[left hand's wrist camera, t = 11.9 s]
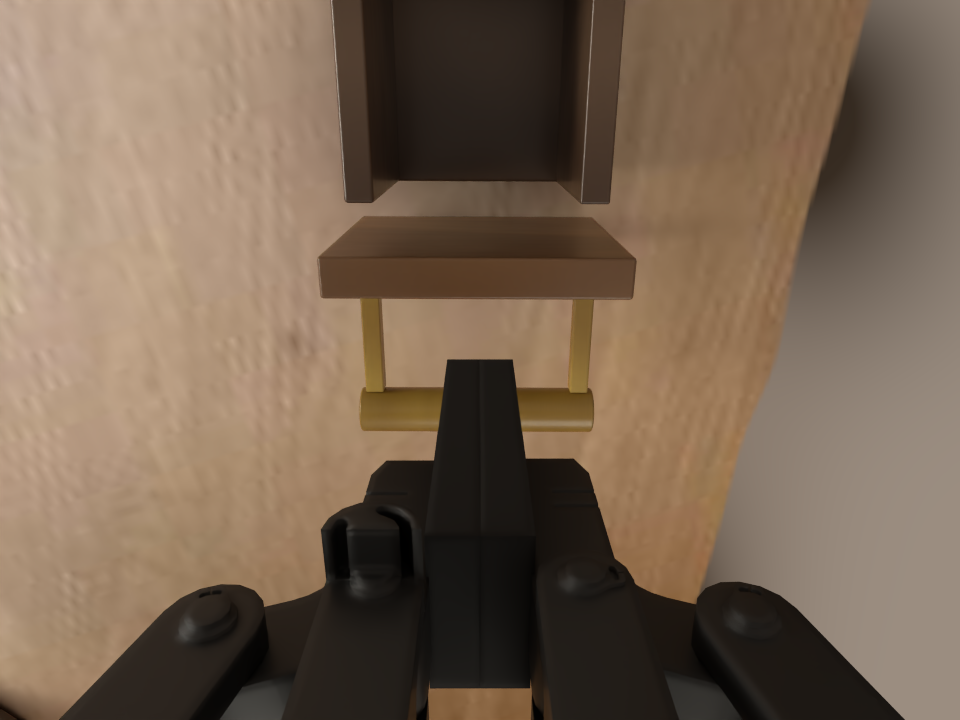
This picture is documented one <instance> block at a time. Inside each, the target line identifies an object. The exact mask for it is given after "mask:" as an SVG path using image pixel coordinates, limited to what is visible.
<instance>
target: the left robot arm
mask: <svg viewBox="0 0 960 720" xmlns="http://www.w3.org/2000/svg"><path fill="white" fill-rule="evenodd" d="M321 535H322V544H323V553H324V563H325V572H326V583H325V586H324V587H323V588H322V589H320V590H318V591H316V592H314V593H312V594H310V595H308V596H305V597H302V598H299V599H296V600H292V601H288V602H284V603H279V604H275V605H271V606H267V607H264V604H263V600H262V599H261V598H260V597H259V595H258V594H257V593H256V592H255V591H254V590H252V589H249V588H246V587H244V586H241V585H223V584H221V585H216V586H212V587H207V588H203V589H199V590H197V591H195V592H193V593H191V594H189V595H186V596H184V597H182V598H180V599H179V600H178V601H176V602H175V603H174V604H173V605H171V606H170V607H169V608H168V609H166V610H165V611H164V612H163V613H162V614H161V615H160V616H159V617H158V618H157V619H156V620H155V621H154V622H153V623H152V624H151V625H150V626H149V627H148V628H147V629H146V630H145V631H144V633H143V634H142V635H141V636H140V637H139V638H138V639H137V640H136V641H135V642H134V643H133V644H132V645H131V646H130V647H129V648H128V649H127V650H126V651H125V652H124V653H123V654H122V655H121V656H120V657H119V658H118V659H117V660H116V661H115V663H114V664H113V665H112V666H111V667H110V668H109V669H108V670H107V671H106V672H105V673H104V674H103V675H102V676H101V677H100V678H99V679H98V680H97V681H96V682H95V683H94V684H93V685H92V686H91V687H90V688H89V689H88V690H87V692H86V693H85V694H84V695H83V696H82V697H81V698H80V699H79V700H78V701H77V702H76V703H75V704H74V705H73V706H72V707H71V708H70V709H69V710H68V711H67V712H66V713H65V714H64V715H63V716H62V717H61V718H60V719H59V720H429V706H428V690H429V679H430V688H530V679H531V687H532V706H531V720H905V719H904V718H903V717H902V716H901V715H900V714H899V713H898V712H897V711H896V710H895V709H894V708H893V707H892V706H891V705H890V704H889V703H888V702H887V701H886V700H885V699H884V698H883V697H882V696H881V695H880V694H879V693H878V692H877V691H876V690H875V689H874V688H873V687H872V686H871V685H870V683H869V682H868V681H866V679H865V678H864V677H863V676H862V675H861V674H860V673H859V672H858V671H857V670H856V669H855V668H854V667H853V666H852V665H851V664H850V663H849V662H848V661H847V660H846V659H845V658H844V657H843V656H842V655H841V654H840V653H839V652H838V651H837V650H836V649H835V648H834V647H833V645H832V644H831V643H830V642H829V641H828V640H827V639H826V638H825V637H824V636H823V635H822V634H821V633H820V632H819V631H818V630H817V629H816V628H815V627H814V626H813V625H812V624H811V623H810V622H809V621H808V620H807V619H806V618H805V617H804V616H803V615H802V614H801V613H800V612H799V611H798V610H797V609H796V608H795V607H794V606H793V605H791V604H790V603H789V602H788V601H786V600H785V599H784V598H782V597H781V596H780V595H778V594H775V593H773V592H771V591H769V590H767V589H765V588H763V587H760V586H756V585H752V584H747V583H743V582H720V583H718V584H715V585H712V586H710V587H707V588H705V590H704V591H703V592H702V593H701V594H700V595H699V597H698V598H697V604H691V603H687V602H683V601H679V600H674V599H670V598H666V597H663V596H660V595H657V594H654V593H651V592H649V591H647V590H645V589H643V588H641V587H639V586H637V585H636V584H635V582H634V579H633V578H632V576H631V574H630V573H629V571H628V570H627V568H626V567H625V566H624V565H622V564H621V563H620V562H618V561H617V560H616V559H615V558H614V555H613V552H612V548H611V545H610V542H609V538H608V535H607V532H606V528H605V525H604V522H603V519H602V515H601V512H600V509H599V507H598V502H597V499H596V495H595V493H594V489H593V485H592V482H591V479H590V476H589V473H588V472H587V471H586V470H585V469H584V468H583V467H582V466H581V465H580V464H579V463H577V462H576V461H575V460H574V459H526V457H525V450H524V442H523V435H522V427H521V419H520V412H519V404H518V397H517V389H516V382H515V374H514V367H513V360H447V366H446V374H445V382H444V389H443V397H442V404H441V412H440V419H439V427H438V435H437V442H436V450H435V457H434V461H386V462H385V463H384V464H383V465H382V466H380V467H379V468H378V469H377V470H376V471H375V472H374V473H373V474H372V475H371V478H370V481H369V485H368V488H367V491H366V495H365V498H364V501H363V503H358V504H356V505H353V506H350V507H347V508H344V509H342V510H340V511H339V512H337V513H336V514H334V515H333V516H331V517H330V518H329V519H328V520H327V522H326V523H325V524H324V526H323V527H322V529H321ZM0 720H17V719H16V718H14V717H13V716H11V715H10V714H8V713H7V712H5V711H3V710H2V709H0Z"/></svg>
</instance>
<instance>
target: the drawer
mask: <svg viewBox="0 0 960 720" xmlns="http://www.w3.org/2000/svg"><path fill="white" fill-rule="evenodd" d="M624 10H625V0H331V15H332V29H333V43H334V57H335V71H336V86H337V100H338V114H339V128H340V142H341V156H342V171H343V185H344V199H345V202H347V203H372V202H374V201H375V200H376V199H377V198H378V197H380V196H381V195H382V194H383V193H384V192H386V191H387V190H388V189H389V188H390V187H392V186H393V185H394V184H395V183H396V182H397V181H557V182H558V183H559V184H560V185H561V186H562V187H563V188H564V189H566V190H567V191H568V192H569V193H570V194H571V195H572V196H573V197H574V198H576V199H577V200H578V201H579V202H580V203H581V204H609V203H610V193H611V180H612V167H613V154H614V141H615V128H616V115H617V102H618V89H619V76H620V63H621V50H622V37H623V23H624ZM317 262H318V274H319V285H320V295H321V297H322V298H360V302H361V317H362V332H363V348H364V363H365V378H366V387H364V388H363V389H362V392H361V396H360V406H359V416H360V425H361V428H362V430H363V431H438V427H439V419H440V412H441V404H442V397H443V389H444V387H385V386H386V375H385V356H384V337H383V319H382V300H381V299H573V306H572V322H571V339H570V356H569V373H568V388H516V389H517V397H518V404H519V412H520V419H521V427H522V432H590V431H591V430H592V427H593V421H594V400H593V394H592V391H591V389H590V388H588V375H589V361H590V347H591V333H592V319H593V305H594V300H630V299H632V298H633V293H634V283H635V272H636V258H634V257H633V256H632V255H631V254H630V253H629V252H628V251H627V250H626V249H625V248H624V247H623V246H622V245H621V244H620V243H619V242H617V241H616V240H615V239H614V238H613V237H612V236H611V235H610V234H609V233H608V232H607V231H606V230H605V229H604V228H603V227H602V226H600V225H599V224H598V223H597V222H596V221H595V220H594V219H593V218H591V217H383V216H364V217H362V218H361V219H360V220H359V221H358V222H357V223H356V224H355V225H353V226H352V227H351V228H350V229H349V230H348V231H347V232H346V233H345V234H343V235H342V236H341V237H340V238H339V239H338V240H337V241H336V242H335V243H333V244H332V245H331V246H330V247H329V248H328V249H327V250H326V251H324V252H323V253H322V254H321V255H320V256H319V257H318V259H317Z"/></svg>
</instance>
